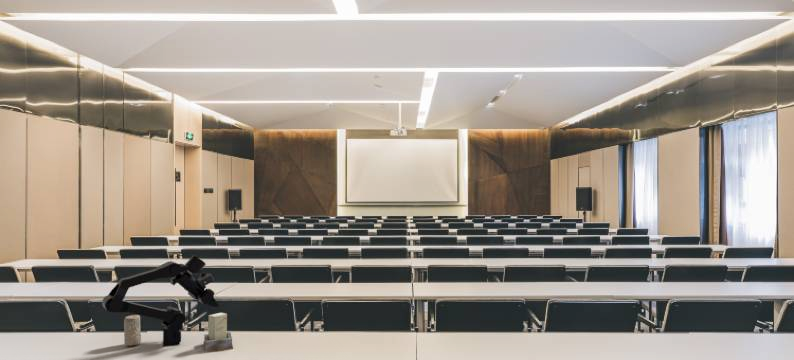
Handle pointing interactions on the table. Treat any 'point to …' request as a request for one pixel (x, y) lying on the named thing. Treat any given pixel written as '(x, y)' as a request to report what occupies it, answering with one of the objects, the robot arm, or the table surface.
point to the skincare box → (217, 326)
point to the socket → (217, 343)
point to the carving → (132, 330)
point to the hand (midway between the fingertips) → (214, 304)
